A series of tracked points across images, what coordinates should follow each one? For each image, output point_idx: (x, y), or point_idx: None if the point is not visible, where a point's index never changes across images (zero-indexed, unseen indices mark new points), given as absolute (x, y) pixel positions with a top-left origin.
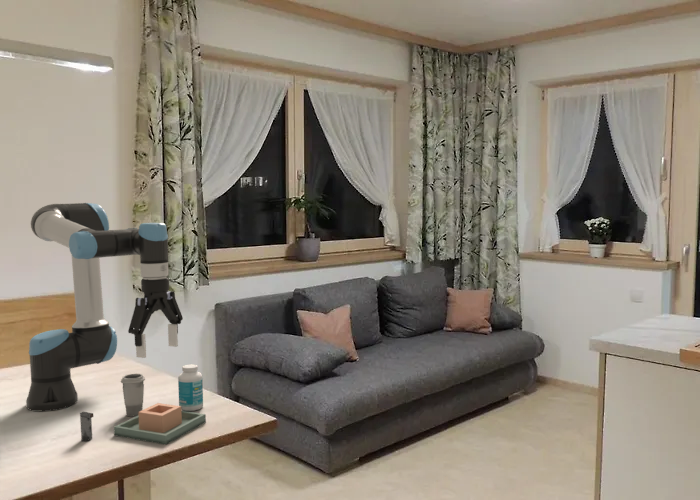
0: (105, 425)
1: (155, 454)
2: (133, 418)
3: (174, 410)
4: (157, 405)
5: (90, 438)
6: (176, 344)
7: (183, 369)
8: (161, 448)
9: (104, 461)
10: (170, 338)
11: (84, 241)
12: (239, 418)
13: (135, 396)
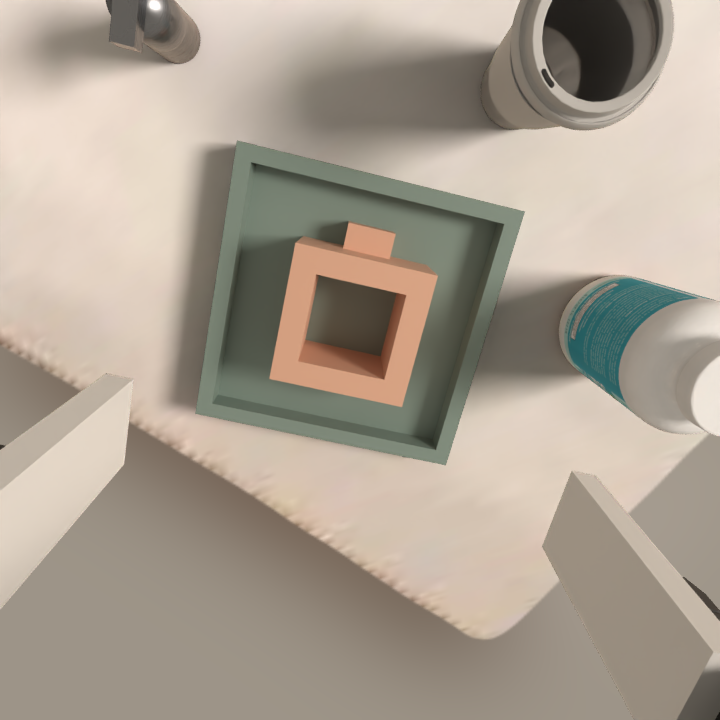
0: (354, 22)
1: None
2: (356, 178)
3: (354, 395)
4: (400, 291)
5: (170, 60)
6: (555, 561)
7: (697, 362)
8: (171, 399)
9: (7, 254)
10: (595, 541)
11: None
12: (493, 545)
13: (509, 104)
